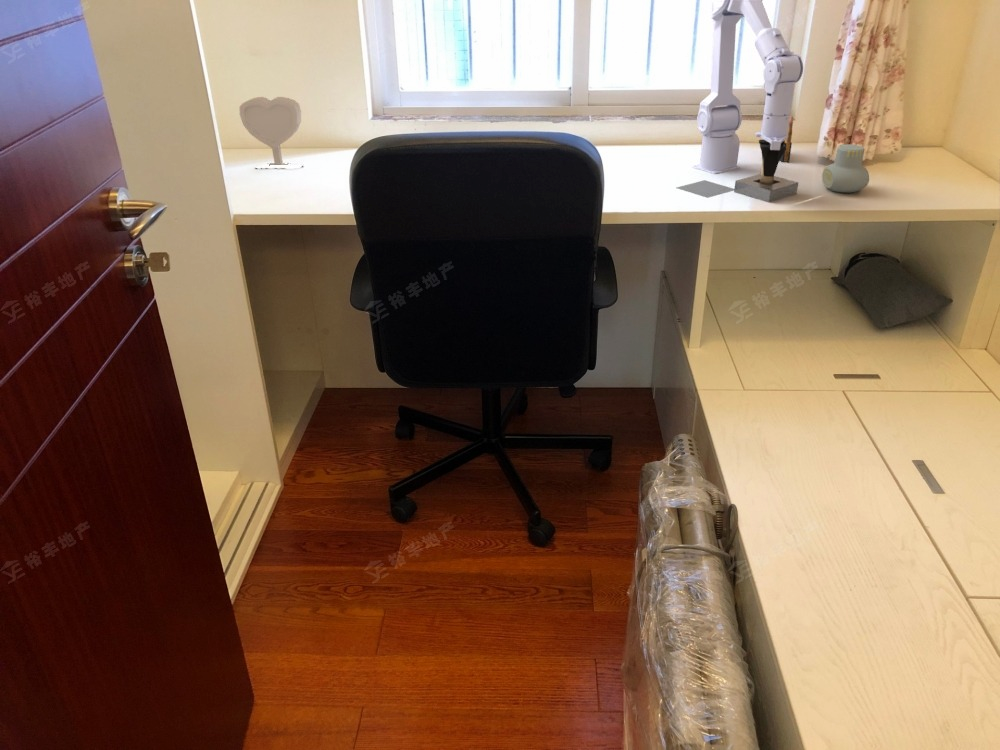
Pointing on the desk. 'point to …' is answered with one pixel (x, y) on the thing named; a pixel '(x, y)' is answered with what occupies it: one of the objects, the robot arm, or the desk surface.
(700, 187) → the mat
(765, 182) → the peg
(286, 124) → the heart sculpture
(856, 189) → the air freshener
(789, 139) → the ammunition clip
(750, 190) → the square hole block
